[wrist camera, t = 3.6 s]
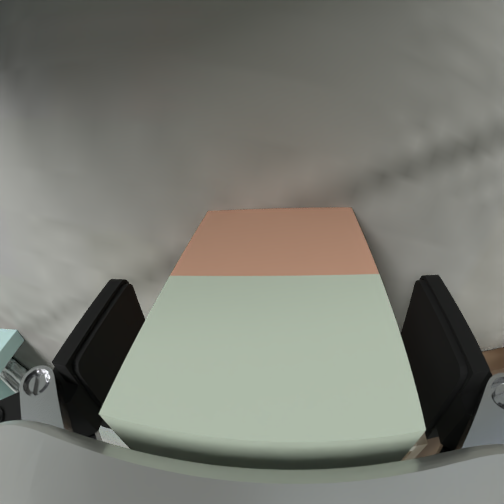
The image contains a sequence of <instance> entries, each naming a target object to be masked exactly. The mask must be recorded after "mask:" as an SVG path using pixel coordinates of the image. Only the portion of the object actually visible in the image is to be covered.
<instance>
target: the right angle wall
mask: <svg viewBox="0 0 504 504" xmlns="http://www.w3.org/2000/svg"><path fill="white" fill-rule="evenodd" d="M23 341H24V339H23V338H22V336H21V335H20V333H19V332H18V331H17V330H10V329H0V400H2V399H4V398H6V397H8V396H11V395H13V394H15V393H17V392H19V391H20V390H19V388H20V382H21V380H22V378H23V376H24V375H25V374H26V373H27V372H28V371H27V370H26V369H25V368H23V367H22V366H21V365H19V364H18V363H17V362H16V361H15V360H13V359H12V356H13V355H14V354H15V352H16V351H17V349H18V348H19V347H20V345H21V344H22V343H23ZM10 370H11V371H12V372H11V371H10Z"/></svg>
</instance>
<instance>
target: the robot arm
mask: <svg viewBox="0 0 504 504" xmlns="http://www.w3.org/2000/svg"><path fill="white" fill-rule="evenodd" d="M144 322H145V318H144V315H143V313H142V310H141V307H140V305H139V302H138V299H137V297H136V294H135V291H134V288H133V286H132V285H131V284H129V282H128V281H127V280H123V279H111V280H110V281H109V282H108V283H107V284H106V286H105V287H104V288H103V289H102V291H101V292H100V293H99V295H98V296H97V298H96V299H95V300H94V302H93V303H92V304H91V306H90V307H89V308H88V310H87V311H86V313H85V314H84V315H83V317H82V318H81V320H80V321H79V322H78V324H77V325H76V327H75V328H74V330H73V331H72V333H71V334H70V335H69V337H68V338H67V340H66V341H65V343H64V344H63V346H62V347H61V349H60V350H59V352H58V353H57V355H56V356H55V358H54V360H53V361H52V363H53V365H54V366H55V368H54V369H53V370H52V369H51V368H50V367H48V366H44V365H40V366H36V367H34V368H32V369H30V370H29V371H28V372H27V373H26V374H25V375H24V376H23V378H22V380H21V382H20V388H19V390H20V391H19V392H17V393H15V394H13V395H11V396H8V397H6V398H4V399H2V400H0V504H504V373H498V374H495V375H493V376H492V373H491V371H490V368H489V366H488V364H487V362H486V359H485V357H484V355H483V353H482V351H481V349H480V347H479V345H478V343H477V341H476V339H475V337H474V335H473V333H472V331H471V330H470V328H469V326H468V324H467V322H466V320H465V319H464V317H463V315H462V313H461V311H460V310H459V308H458V306H457V304H456V303H455V301H454V299H453V297H452V296H451V294H450V292H449V291H448V289H447V287H446V286H445V284H444V283H443V281H442V279H441V278H440V276H439V275H425V276H421V278H420V280H417V281H416V282H415V285H414V289H413V293H412V297H411V301H410V304H409V308H408V312H407V315H406V318H405V322H404V325H403V328H402V332H401V337H402V341H403V344H404V347H405V350H406V354H407V357H408V360H409V364H410V367H411V371H412V375H413V378H414V382H415V386H416V390H417V393H418V397H419V401H420V406H421V410H422V414H423V418H424V423H425V427H426V431H425V436H426V439H431V438H435V437H439V440H440V444H441V445H440V447H439V449H438V451H437V453H436V454H435V455H430V456H425V457H420V458H415V459H409V460H403V461H397V462H390V463H384V464H377V465H369V466H360V467H349V468H336V469H316V470H272V469H251V468H238V467H227V466H218V465H210V464H202V463H196V462H189V461H183V460H177V459H172V458H167V457H162V456H157V455H152V454H148V453H143V452H139V451H135V450H131V449H127V448H124V447H120V446H116V445H113V444H109V443H106V442H103V441H102V439H101V436H100V433H99V428H100V425H101V426H103V427H106V428H110V429H111V427H110V426H109V425H108V424H107V423H106V422H105V421H104V419H103V418H102V417H101V416H100V415H99V412H100V410H101V408H102V406H103V403H104V401H105V399H106V397H107V395H108V393H109V391H110V389H111V387H112V385H113V383H114V381H115V378H116V376H117V374H118V372H119V370H120V368H121V366H122V364H123V362H124V360H125V358H126V356H127V354H128V353H129V351H130V349H131V347H132V345H133V343H134V341H135V339H136V337H137V335H138V333H139V331H140V329H141V328H142V326H143V324H144Z"/></svg>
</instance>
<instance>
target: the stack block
mask: <svg viewBox="0 0 504 504" xmlns="http://www.w3.org/2000/svg"><path fill="white" fill-rule="evenodd" d="M99 415H100V416H101V417H102V418H103V419H104V421H105V422H106V423H107V424H108V425H109V426H110V427H111V429H112V430H113V431H114V432H115V433H116V434H117V435H118V436H119V437H120V438H121V440H122V441H123V442H124V443H125V444H126V445H127V446H128V447H129V448H130V449H131V450H135V451H139V452H143V453H148V454H152V455H157V456H162V457H167V458H172V459H177V460H183V461H189V462H196V463H202V464H210V465H218V466H227V467H238V468H251V469H272V470H316V469H336V468H349V467H360V466H369V465H377V464H384V463H390V462H397V461H401V460H402V459H403V457H404V456H405V455H406V454H407V453H408V452H409V451H410V449H411V448H412V447H413V446H414V445H415V443H416V442H417V441H418V440H419V438H420V437H421V436H422V435H423V433H424V432H425V431H426V427H425V423H424V418H423V414H422V410H421V406H420V401H419V397H418V393H417V390H416V386H415V382H414V378H413V375H412V371H411V367H410V364H409V360H408V357H407V354H406V350H405V347H404V344H403V341H402V337H401V334H400V331H399V328H398V325H397V322H396V319H395V316H394V313H393V310H392V307H391V305H390V302H389V299H388V296H387V293H386V291H385V288H384V285H383V282H382V280H381V277H380V275H379V272H378V269H377V267H376V264H375V262H374V259H373V257H372V254H371V252H370V249H369V247H368V244H367V242H366V240H365V237H364V235H363V233H362V230H361V228H360V226H359V223H358V221H357V219H356V217H355V214H354V212H353V210H352V208H351V207H334V208H276V209H244V210H220V211H208V212H207V213H206V215H205V217H204V218H203V220H202V222H201V223H200V225H199V227H198V228H197V230H196V232H195V233H194V235H193V237H192V238H191V240H190V242H189V243H188V245H187V247H186V249H185V250H184V252H183V254H182V255H181V257H180V259H179V261H178V262H177V264H176V266H175V268H174V269H173V271H172V273H171V275H170V276H169V278H168V280H167V282H166V283H165V285H164V287H163V289H162V291H161V292H160V294H159V296H158V298H157V300H156V302H155V303H154V305H153V307H152V309H151V311H150V313H149V314H148V316H147V318H146V320H145V322H144V324H143V326H142V328H141V329H140V331H139V333H138V335H137V337H136V339H135V341H134V343H133V345H132V347H131V349H130V351H129V353H128V354H127V356H126V358H125V360H124V362H123V364H122V366H121V368H120V370H119V372H118V374H117V376H116V378H115V381H114V383H113V385H112V387H111V389H110V391H109V393H108V395H107V397H106V399H105V401H104V403H103V406H102V408H101V410H100V412H99Z"/></svg>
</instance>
